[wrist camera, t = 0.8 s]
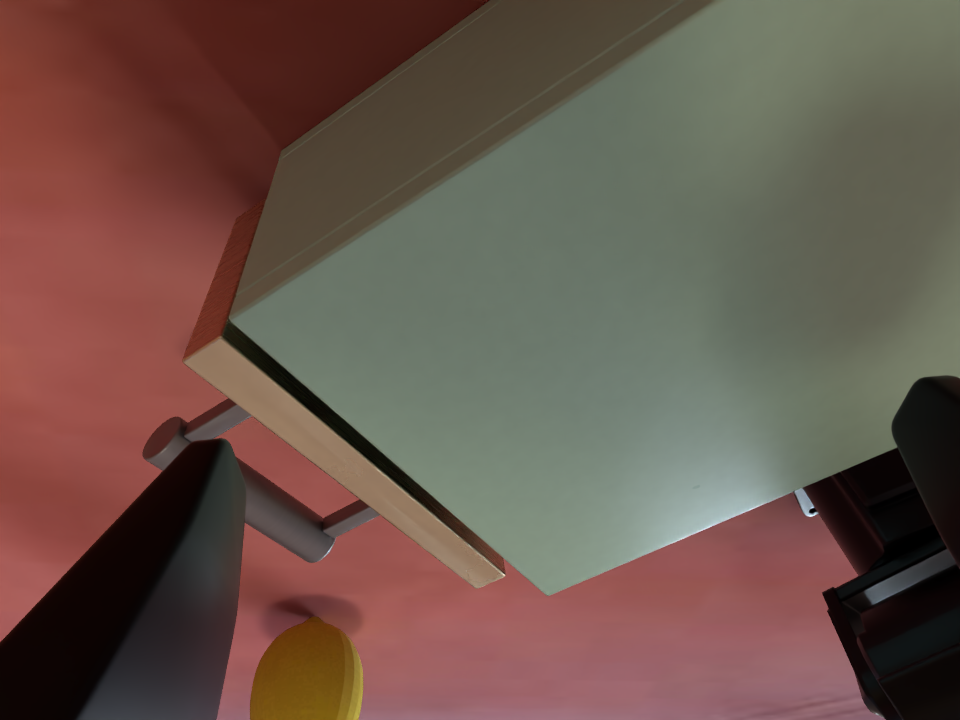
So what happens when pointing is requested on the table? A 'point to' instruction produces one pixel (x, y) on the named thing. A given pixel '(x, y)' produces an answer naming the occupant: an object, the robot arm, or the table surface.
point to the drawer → (304, 441)
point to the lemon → (308, 676)
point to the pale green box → (625, 260)
